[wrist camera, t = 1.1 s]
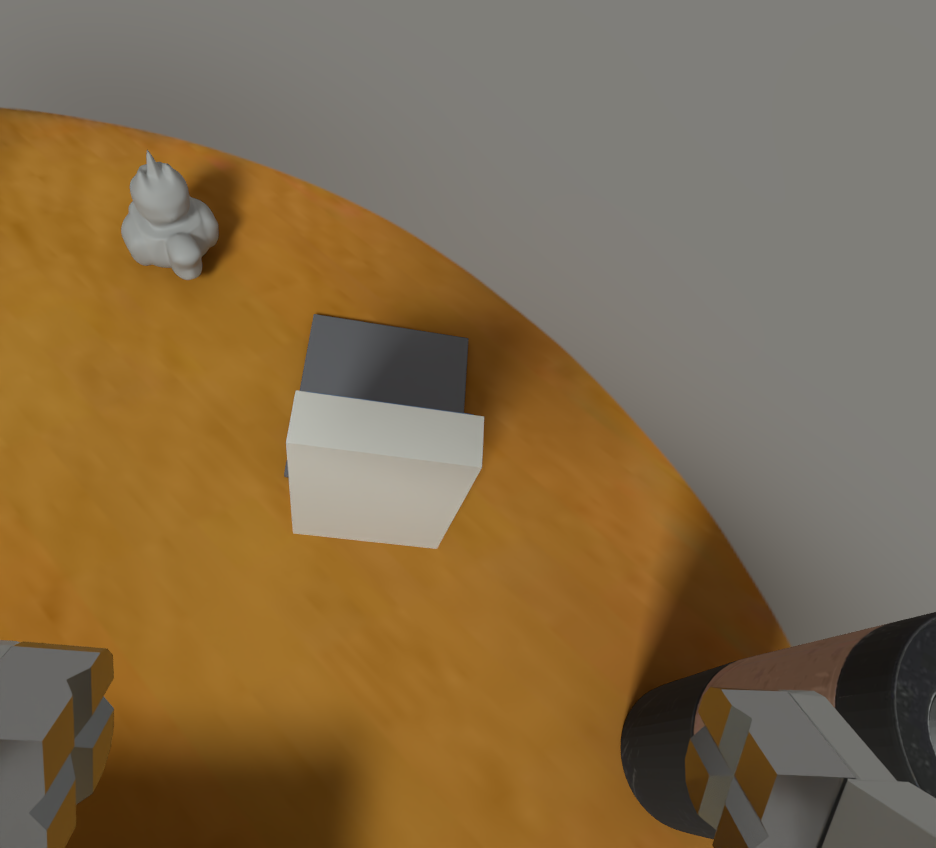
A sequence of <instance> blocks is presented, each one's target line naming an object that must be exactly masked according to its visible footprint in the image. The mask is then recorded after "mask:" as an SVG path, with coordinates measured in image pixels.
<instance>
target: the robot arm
mask: <svg viewBox="0 0 936 848" xmlns="http://www.w3.org/2000/svg"><path fill="white" fill-rule="evenodd" d="M113 679H114V671H113V655H112V653H111V652H110V651H109V650H108V649H106V648H94V647H82V646H70V645H58V644H46V643H34V642H17V641H6V640H0V848H65V846H66V845H67V843H68V841H69V839H70V837H71V835H72V833H73V831H74V829H75V827H76V804H78V803H79V802H81V801H82V800H83V799H85V798H86V797H88V796H89V795H91V794H92V793H93V792H94V790H95V788H96V786H97V784H98V782H99V780H100V777H101V775H102V773H103V771H104V768H105V764H106V761H107V758H108V755H109V751H110V748H111V743H112V736H113V729H114V708H113V707H112V706H111V705H110V704H109V702H108V701H107V700H106V699H105V698H104V694H105V693H106V691H107V689H108V687H109V686H110V684H111V682H112V681H113ZM698 713H699V715H700V717H701V719H702V721H703V723H704V725H705V726H704V727H703V728H701V729H700V730H699V731H698V732H697V733H696V734H695V735H694V736H693V737H691V738H690V741H689V745H688V749H687V753H686V757H685V777H686V785H687V788H688V792H689V796H690V799H691V801H692V804H693V806H694V808H695V810H696V812H697V814H698V815H699V816H700V817H701V818H702V819H703V820H705V821H706V822H707V823H708V824H709V825H711V826H712V827H713V828H714V829H715V830H716V833H715V837H714V841H713V847H714V848H936V798H934V797H933V796H931V795H929V794H928V793H926V792H924V791H923V790H921V789H919V788H918V787H916V786H914V785H913V784H911V783H909V782H899V781H897V780H896V779H895V778H894V777H893V776H892V774H891V773H890V772H889V771H888V770H887V769H886V767H885V766H884V765H883V764H882V763H881V762H880V760H879V759H878V758H877V757H876V756H875V755H874V753H873V752H872V751H871V750H870V749H869V748H868V746H867V745H866V744H865V743H864V742H863V741H862V739H861V738H860V737H859V736H858V735H857V734H856V732H855V731H854V730H853V729H852V728H851V727H850V725H849V724H848V723H847V722H846V721H845V720H844V718H843V717H842V716H841V715H840V714H839V713H838V711H837V710H836V709H835V708H834V707H833V706H832V704H831V703H830V702H829V701H828V700H827V699H826V697H824V696H823V695H821V694H819V693H817V692H815V691H805V690H779V691H770V690H753V689H735V688H718V687H709V689H708V690H707V691H706V693H705V694H704V695H703V697H702V700H701V704H700V707H699V710H698Z"/></svg>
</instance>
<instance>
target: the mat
mask: <svg viewBox="0 0 936 848" xmlns="http://www.w3.org/2000/svg"><path fill="white" fill-rule="evenodd" d="M467 354H468V338H463V337H457V336H450V335H444V334H438V333H431V332H425V331H418V330H412V329H406V328H399V327H393V326H386V325H380V324H374V323H367V322H361V321H355V320H348V319H342V318H335V317H329V316H323V315H316V314H314V317H313V322H312V327H311V333H310V338H309V344H308V349H307V354H306V360H305V365H304V370H303V376H302V381H301V387H300V391H304V392H307V391H309V392H316V393H323V394H331V395H338V396H345V397H352V398H359V399H366V400H374V401H381V402H388V403H395V404H402V405H409V406H417V407H424V408H431V409H438V410H445V411H452V412H460V413H464V402H465V386H466V370H467ZM284 477H289V474H288V462H286V467H285V473H284Z"/></svg>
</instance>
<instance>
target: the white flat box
mask: <svg viewBox="0 0 936 848" xmlns="http://www.w3.org/2000/svg"><path fill="white" fill-rule="evenodd" d="M483 432H484V417H483V416H476V415H474V414H467V413H460V412H452V411H445V410H438V409H431V408H424V407H417V406H409V405H402V404H395V403H388V402H381V401H374V400H366V399H359V398H352V397H345V396H338V395H331V394H323V393H316V392H309V391H307V392H304V391H296V392H295V398H294V403H293V408H292V413H291V419H290V424H289V429H288V435H287V440H286V449H287V462H288V474H289V487H290V500H291V513H292V525H293V533H296V534H305V535H315V536H324V537H333V538H342V539H351V540H360V541H370V542H379V543H388V544H397V545H406V546H416V547H425V548H434V549H437V547H438V546H439V544H440V542H441V540H442V538H443V537H444V535H445V533H446V531H447V529H448V528H449V526H450V524H451V522H452V520H453V519H454V517H455V515H456V513H457V511H458V510H459V508H460V506H461V504H462V502H463V501H464V499H465V497H466V495H467V493H468V492H469V490H470V488H471V486H472V484H473V483H474V481H475V479H476V477H477V475H478V474H479V472H480V470H481V468H482V454H483Z"/></svg>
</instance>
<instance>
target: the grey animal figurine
mask: <svg viewBox="0 0 936 848" xmlns="http://www.w3.org/2000/svg"><path fill="white" fill-rule="evenodd" d="M146 160H147V164H146V165H142V166H140V167H139V170H138V171H137V174H136V175H135V176H134V177H133V179H132V180H131V183H130V192H131V196H132V199H133V202H132V203H131V204H130V206H129V214H128V215H127V216H126V218H125V219H124V221H123V224H122V228H121V233H122V237H123V239H124V241H125V243H126V245H127V248H128V249H129V251H130V253H131V255H132V257H133V258H134V259H135V260H136V261H137V262H138V263H139V264H141V265H144V266H148V265H152V264H153V265H156V266H158V267H164V268H172V269H173V271H174V272H175V273H176V275H177V276H179V277H180V278H182V279H185V280H190V279H194V278H197V277H198V276H199V275H200V274H201V271H202V260H201V257H202V256H203V255H204V254H205V253H206V252H207V251H208V249H209V248H210V247H212V246H214V245H215V244H216V242H217V240H218V235H219V234H218V223H217V221H216V219H215V217H214V215H213V213H212V211H211V210H210V208H209V207H208V206H207V205H206V204H205V203H203V202H202V201H200V200H198V199H195V198H192V197H190V195H189V192H188V187H187V184H186V182H185V180H184V178H183V177H182V175H181V174H180V173H178V172H177V171H176V170H174V169H173V168H172V167H171V166H170V165H169V164H166V163H161V162H155V160H154V158H153V157H152V155H151V154H150V153H149V151H148V150H147V157H146Z"/></svg>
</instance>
